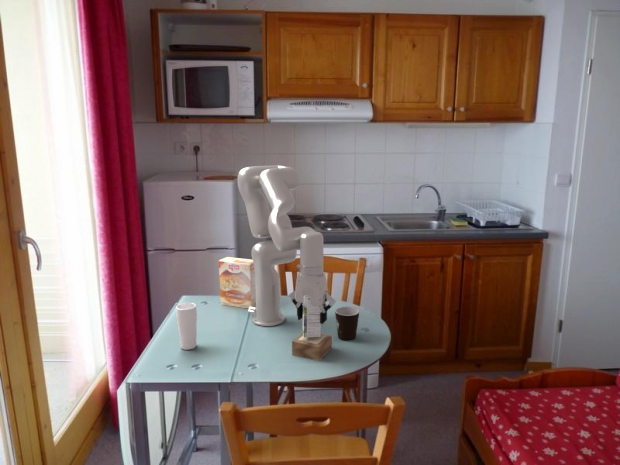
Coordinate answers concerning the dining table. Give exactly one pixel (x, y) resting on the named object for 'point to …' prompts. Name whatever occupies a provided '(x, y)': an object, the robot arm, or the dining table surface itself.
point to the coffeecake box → (237, 282)
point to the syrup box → (311, 319)
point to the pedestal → (312, 346)
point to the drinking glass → (187, 325)
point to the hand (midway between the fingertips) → (311, 320)
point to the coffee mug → (347, 322)
